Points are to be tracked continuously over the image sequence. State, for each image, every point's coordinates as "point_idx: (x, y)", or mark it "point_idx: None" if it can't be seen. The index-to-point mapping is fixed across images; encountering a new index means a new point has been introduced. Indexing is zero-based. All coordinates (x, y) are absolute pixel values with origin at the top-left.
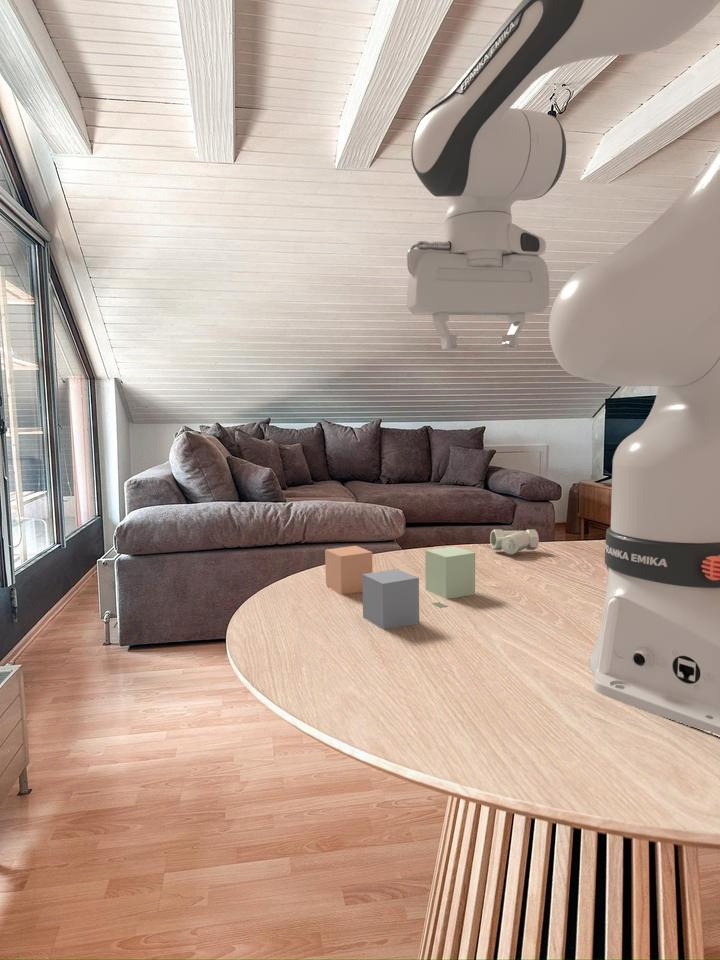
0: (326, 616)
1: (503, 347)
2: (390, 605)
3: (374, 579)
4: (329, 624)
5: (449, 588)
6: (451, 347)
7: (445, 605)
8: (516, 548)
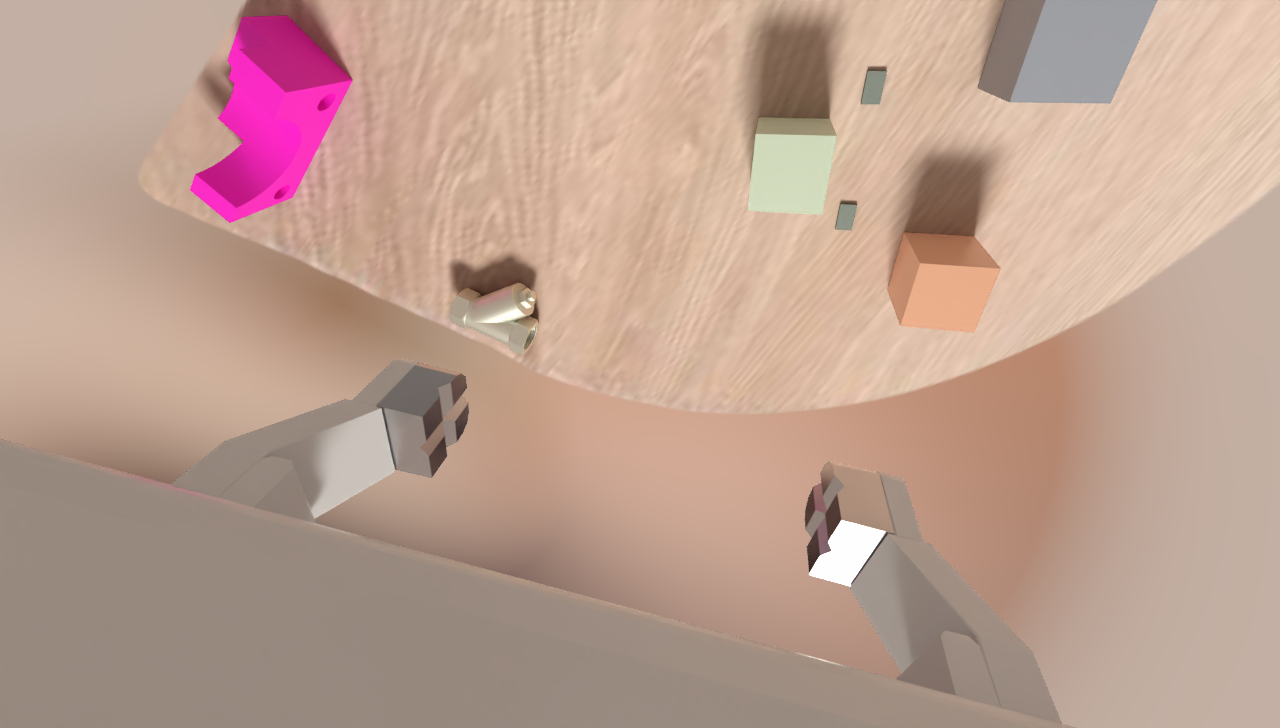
0: (1088, 155)
1: (467, 414)
2: None
3: (1135, 42)
4: (1128, 107)
5: (822, 122)
6: (862, 469)
7: (868, 76)
8: (518, 285)
